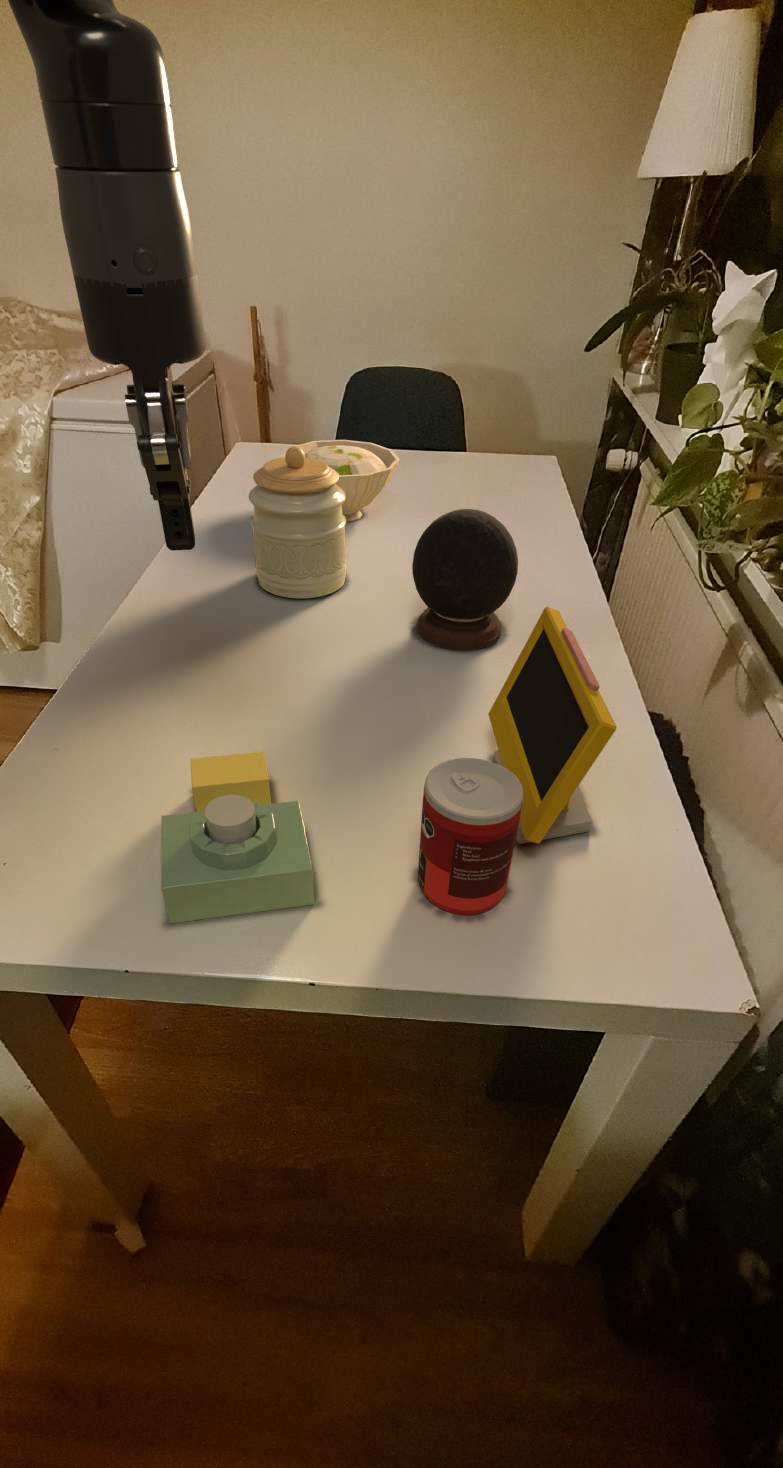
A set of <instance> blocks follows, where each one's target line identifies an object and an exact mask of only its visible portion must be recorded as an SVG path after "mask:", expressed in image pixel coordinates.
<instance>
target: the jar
mask: <svg viewBox="0 0 783 1468" xmlns="http://www.w3.org/2000/svg"><path fill="white" fill-rule="evenodd" d="M293 446H294V447H292V446H290V447H288V448H287V450H286V451H287V452H286V451H285V452H286V455H285V457H283V458H282V457H278V458H274V459H273V458H272V459H271V460H269V461H267V462H265V463H264V464H263V466H261V467H260V468H258V469H257V470H256V471H255V472H254V473H253V476H252V479H253V482H254V483H255V484H256V485H255V486H253V487H252V489H250V490H249V493H248V501H249V502H250V503H251V504H252V505H253V515H252V516H251V519H250V524H251V527H252V532H253V533H252V534H253V542H254V543H253V544H254V553H255V555H254V556H255V564H254V567H255V575H256V577H257V580H258V585H259V586H260V587H261V588H262V589H263V590H265V591H266V592H268V593H269V594H272V595H275V596H277V597H278V596H279V597H283V598H287V599H288V598H289V599H314V598H321V597H324V596H328V595H330V594H332V593H335V592H336V591H338V590H339V589H340V588H342V587H343V586H344V584H345V582H346V575H347V565H348V564H347V561H346V525H347V522H346V519H345V517H344V515H343V514H342V504H343V502H344V501H345V498H346V495H345V492H344V491H343V489H342V488H340V487H339V486H338V485H337V484H336V483H337V482H338V481H339V475H338V473H337V472H336V471H335V470H333V469H332V468H330V467H328V465H327V464H326V463H325V462H323V461H321V460H318V459H314V458H308V457H305V454H304V452H303V450H302V449H301V448H299V447H296V445H293Z"/></svg>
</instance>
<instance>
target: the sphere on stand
mask: <svg viewBox="0 0 783 1468" xmlns="http://www.w3.org/2000/svg"><path fill="white" fill-rule="evenodd" d="M411 568H412V578H413V582H414V586H415V589H416V591H417V593H418V596H419V598H420V599H421V601H422V602H423V603H424V604H425V606H426V608H425V609H424V610H423V612H422V613H421V614H420V615H419V617H417V619H416V620H417V621H416V632H417V634H418V635H419V637H420V638H422V640H424V641H425V642H427V643H428V644H431V645H433V646H435V647H438V648H442V649H444V650H445V649H446V650H451V651H475V650H481V649H485V648H488V647H490V646H493V645H494V644H495V643H497V642H498V641H499V640H500V638H501V636H502V631H503V630H502V629H503V627H502V623H501V621H500V620H499V619H498V615H496V613H495V612H496V611H497V610H498V609H499V608H500V607H502V605H503V604H504V603H505V602H506V601H507V600H508V598H509V597H510V595H511V593H512V591H513V588H514V586H515V585H516V581H517V577H518V572H519V571H518V570H519V557H518V550H517V545H516V544H515V540H514V538H513V537H512V535H511V533H510V532H509V530H508V528H507V526H505V525H504V524H503V523H502V522H501V521H499V520H498V518H496V517H495V516H493V515H491V514H489V513H488V512H486V511H482V510H479V509H472V508H459V509H455V510H451V511H449V512H446V513H444V514H442V515H441V516H438V517H437V518H435V519H434V520H433V521H432V522H431V523H430V524H429V525H428V526H427V527H426V528H425V530H424V531H423V533H422V534H421V535H420V538H419V539H418V541H417V543H416V546H415V549H414V552H413V558H412V564H411Z"/></svg>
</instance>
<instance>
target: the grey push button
mask: <svg viewBox="0 0 783 1468" xmlns="http://www.w3.org/2000/svg"><path fill="white" fill-rule="evenodd" d="M205 818H206V824H207V829H208V834H209V836H210V837H211V839H212V840H214V841H215V842H218V843H222V844H226V845H228V844H236V843H242V842H244V841H246V840H248V839H250V838H251V837H252V836H253V835H254V834H255V832H256V829H257V824H256V816H255V808H254V805H253V803H252V802H251V801H250V800H249V799H248V798H246V797H243V796H240V795H225V796H221V797H218V798H216V799H214V800H212V801H211V802H210V803H209V804H208V805H207V806H206V808H205Z"/></svg>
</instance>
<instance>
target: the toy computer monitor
mask: <svg viewBox="0 0 783 1468" xmlns="http://www.w3.org/2000/svg"><path fill="white" fill-rule="evenodd" d="M525 642H526V643H525V644H524V646H523V648H522V649H521V652H520V653H519V655H518V657H517V659H516V660H515V662H514V665H513V667H512V668H511V670H510V671H509V674H508V676H507V678H506V680H505V681H504V683H503V685H502V687H501V689H500V691H499V693H498V695H497V697H496V698H495V701H494V702H493V704H492V706H491V708H490V710H489V712H488V714H487V716H488V718H489V722H490V725H491V728H492V731H493V735H494V738H495V741H496V745H497V749H498V750H495V751H494V752H493V761H494V763H496V764H498V765H501V766H502V767H504V768H506V769H508V770H509V771H510V772H511V773H513V774H514V775H515V776H516V778H517V779H518V780H519V782H520V783H521V785H522V789H523V803H522V808H521V815H520V820H519V826H518V831H517V836H516V843H517V844H518V845H522V844H527V843H534V844H538V845H539V844H541V842H542V841H544V840H549V839H556V838H559V837H560V838H561V837H567V836H571V835H577V834H582V833H587V832H590V831H592V827H593V823H594V822H593V821H592V818H591V815H590V813H589V810H588V809H587V806H586V803H585V800H584V799H583V795H582V793H581V791H580V788H579V786H580V784H581V783H582V781H583V780H584V778H585V777H586V775H587V774H588V772H589V771H590V770H591V767H592V766H593V765H594V763H595V762H596V761H597V759H598V757H599V756H600V755H601V753H602V751H603V750H604V748H605V747H606V746H607V744H608V743H609V741H610V739H611V738H612V736H613V735H614V733H615V732H616V730H617V727H618V726H617V724H616V722H615V721H614V719H613V716H612V715H611V712H610V711H609V708H608V707H607V704H606V702H605V701H604V698H603V696H602V694H601V692H600V690H599V689H600V684H599V682H598V680H597V678H596V676H595V674H594V672H593V670H592V668H591V666H590V664H589V662H588V660H587V657H586V656H585V654H584V652H583V650H582V648H581V646H580V644H579V642H578V641H577V638H576V636H575V634H574V632H573V631H572V630H571V629H569V628H568V626H567V624H566V622H565V620H564V618H563V617H562V615H561V612H560V610H558V609H555V608H552V607H551V606H545V607H544V608H543V610H542V612H541V614H540V615H539V618H538V620H537V621H536V623H535V625H534V627H533V629H532V631H531V633H530V635H529V637H528V638H527V640H526V641H525Z"/></svg>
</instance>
